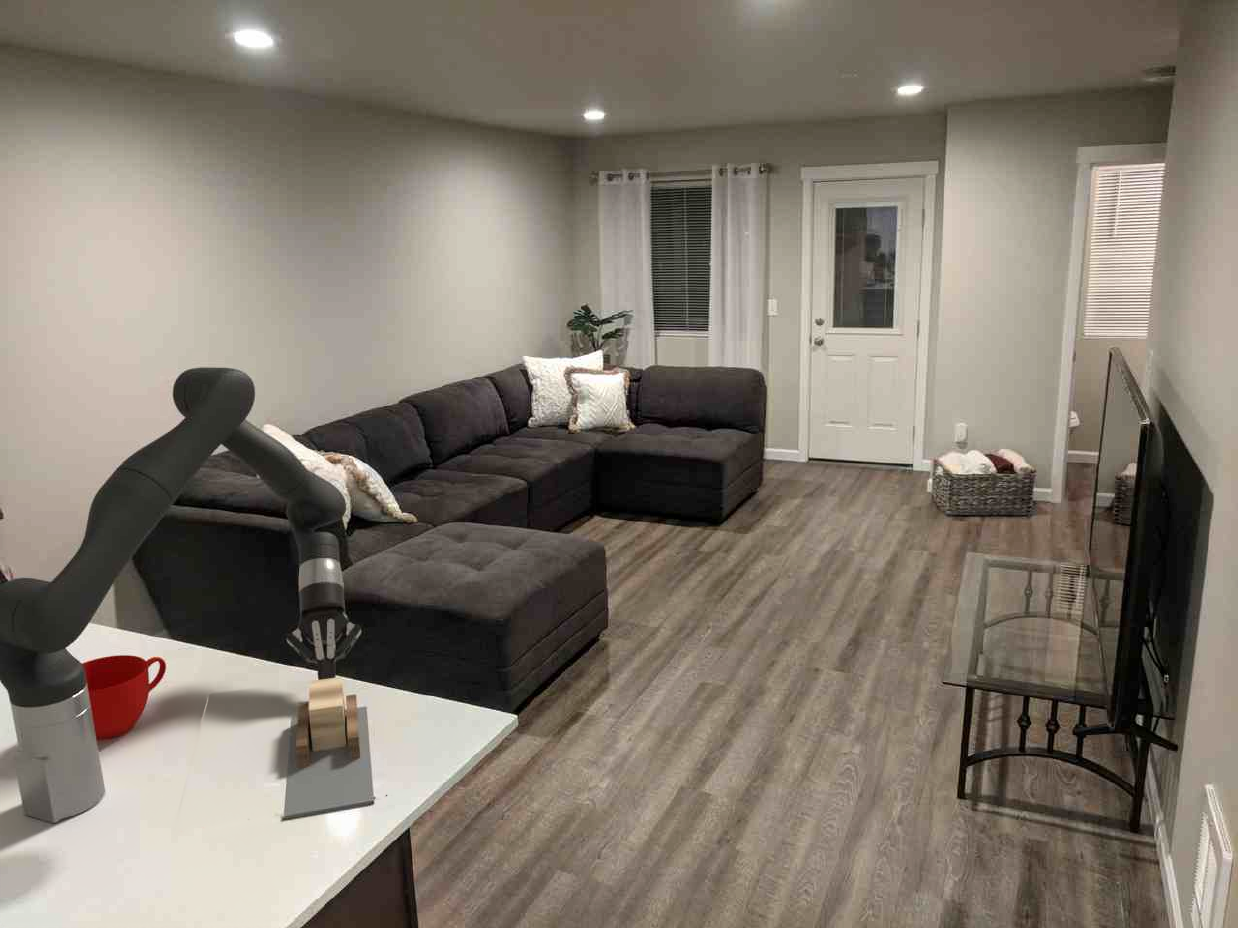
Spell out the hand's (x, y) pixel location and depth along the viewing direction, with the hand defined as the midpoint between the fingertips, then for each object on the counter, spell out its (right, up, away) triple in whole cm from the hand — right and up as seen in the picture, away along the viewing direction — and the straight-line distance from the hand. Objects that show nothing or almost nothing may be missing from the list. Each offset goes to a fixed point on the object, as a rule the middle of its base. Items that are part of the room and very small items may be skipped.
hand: (327, 682), depth 158 cm
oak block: (+3, -6, -8) cm, 11 cm away
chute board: (+5, -8, -15) cm, 17 cm away
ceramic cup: (-33, -6, -3) cm, 33 cm away
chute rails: (+3, -7, -10) cm, 13 cm away
